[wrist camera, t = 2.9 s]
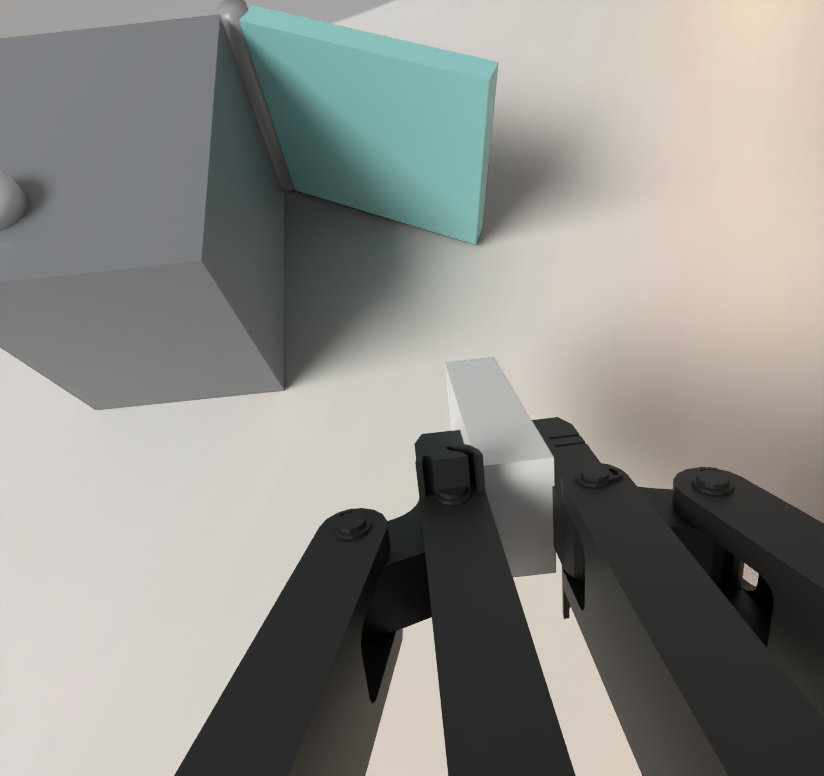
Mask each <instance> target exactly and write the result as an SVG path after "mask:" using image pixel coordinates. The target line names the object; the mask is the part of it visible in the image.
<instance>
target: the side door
mask: <svg viewBox="0 0 824 776" xmlns="http://www.w3.org/2000/svg"><path fill="white" fill-rule="evenodd" d="M217 11H218V14H220V16H221V19H222V22H223V24H224V27H225V30H226V33H227V36H228V38H229V41H230V44H231V47H232V50H233V52H234V55H235V58H236V61H237V64H238V66H239V69H240V72H241V75H242V78H243V80H244V83H245V86H246V89H247V92H248V94H249V97H250V100H251V103H252V106H253V108H254V111H255V114H256V117H257V120H258V122H259V125H260V128H261V131H262V134H263V136H264V139H265V142H266V145H267V148H268V150H269V153H270V156H271V159H272V162H273V164H274V167H275V170H276V173H277V176H278V178H279V181H280V184H281V187H282V189H284V190H288V191H290V190H294V189H295V190H296V191H299V192H302V193H306V194H309V195H312V196H316V197H319V198H322V199H326V200H329V201H332V202H336V203H339V204H342V205H346V206H349V207H352V208H356V209H359V210H362V211H366V212H369V213H372V214H376V215H379V216H382V217H385V218H389V219H392V220H395V221H399V222H402V223H405V224H409V225H412V226H415V227H419V228H422V229H425V230H429V231H432V232H435V233H439V234H442V235H445V236H449V237H452V238H455V239H459V240H462V241H465V242H468V243H472V244H475V245H476V242H477V240H478V238H479V236H480V234H481V231H482V226H483V216H484V205H485V195H486V185H487V175H488V164H489V154H490V144H491V133H492V123H493V113H494V102H495V92H496V82H497V71H498V62H495V61H490V60H486V59H482V58H477V57H473V56H469V55H464V54H460V53H456V52H451V51H447V50H443V49H438V48H434V47H430V46H425V45H421V44H417V43H412V42H408V41H404V40H399V39H395V38H391V37H386V36H382V35H378V34H373V33H369V32H365V31H360V30H356V29H352V28H347V27H343V26H339V25H334V24H330V23H326V22H321V21H317V20H312V19H308V18H304V17H300V16H295V15H291V14H287V13H282V12H278V11H273V10H269V9H265V8H261V7H256V6H252V5H251V7H250V8H249V9H248V8H247V5H246V2H245V1H244V0H224V1H223V2H221V3H220V4H219V5H218V7H217Z"/></svg>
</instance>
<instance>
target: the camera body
mask: <svg viewBox="0 0 824 776" xmlns="http://www.w3.org/2000/svg"><path fill="white" fill-rule="evenodd" d="M284 202H285V195H284V192H283V190H282V187H281V184H280V181H279V178H278V176H277V173H276V170H275V167H274V164H273V162H272V159H271V156H270V153H269V150H268V148H267V145H266V142H265V139H264V136H263V134H262V131H261V128H260V125H259V122H258V120H257V117H256V114H255V111H254V108H253V106H252V103H251V100H250V97H249V94H248V92H247V89H246V86H245V83H244V80H243V78H242V75H241V72H240V69H239V66H238V64H237V61H236V58H235V55H234V52H233V50H232V47H231V44H230V41H229V38H228V36H227V33H226V30H225V27H224V24H223V22H222V19H221V16H220V14H219V15H211V16H201V17H193V18H183V19H174V20H165V21H156V22H147V23H138V24H129V25H119V26H110V27H101V28H92V29H84V30H74V31H65V32H56V33H47V34H38V35H28V36H19V37H10V38H1V39H0V348H2V349H3V350H5V351H6V352H8V353H9V354H11V355H13V356H14V357H16V358H17V359H19V360H20V361H22V362H23V363H25V364H26V365H28V366H29V367H31V368H32V369H34V370H35V371H37V372H38V373H40V374H41V375H43V376H45V377H46V378H48V379H49V380H51V381H52V382H54V383H55V384H57V385H58V386H60V387H61V388H63V389H64V390H66V391H67V392H69V393H70V394H72V395H73V396H75V397H76V398H78V399H80V400H81V401H83V402H84V403H86V404H87V405H89V406H90V407H92V408H93V409H95V410H101V409H110V408H120V407H130V406H139V405H149V404H158V403H168V402H178V401H187V400H197V399H206V398H216V397H225V396H235V395H245V394H254V393H264V392H273V391H283V390H284Z"/></svg>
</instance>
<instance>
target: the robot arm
mask: <svg viewBox="0 0 824 776" xmlns="http://www.w3.org/2000/svg"><path fill="white" fill-rule="evenodd" d="M445 368H446V380H447V391H448V402H449V413H450V424H451V431H445V432H436V433H428V434H422V435H421V436H420V437H419V439H418V440H417V441H416V443H415V452H416V462H415V463H416V471H417V480H418V488H419V501H418V503H417V505H416V506H415V507H414V508H413V509H412V510H411V511H410V512H408V513H406V514H405V515H403V516H401V517H398V518H396V519H393V520H390V521H387V520H386V519H385V517H384V516H383V514H381V513H379V512H377V511H375V510H371V509H364V508H359V509H349V510H346V511H342V512H339V513H336V514H335V515H333V516H331V517H330V518H328V519H326V520H325V521H324V523H323V524H322V525H321V526H320V527H319V529H318V530H317V532H316V534H315V536H314V537H313V539H312V541H311V542H310V544H309V546H308V548H307V549H306V551H305V553H304V554H303V556H302V558H301V560H300V561H299V563H298V565H297V566H296V568H295V570H294V572H293V573H292V575H291V577H290V578H289V580H288V582H287V583H286V585H285V587H284V589H283V590H282V592H281V594H280V595H279V597H278V599H277V601H276V602H275V604H274V606H273V607H272V609H271V611H270V613H269V614H268V616H267V618H266V619H265V621H264V623H263V625H262V626H261V628H260V630H259V631H258V633H257V635H256V637H255V638H254V640H253V642H252V643H251V645H250V647H249V649H248V650H247V652H246V654H245V655H244V657H243V659H242V661H241V662H240V664H239V666H238V667H237V669H236V671H235V673H234V674H233V676H232V678H231V679H230V681H229V683H228V685H227V686H226V688H225V690H224V691H223V693H222V695H221V697H220V698H219V700H218V702H217V703H216V705H215V707H214V708H213V710H212V712H211V714H210V715H209V717H208V719H207V720H206V722H205V724H204V726H203V727H202V729H201V731H200V732H199V734H198V736H197V738H196V739H195V741H194V743H193V744H192V746H191V748H190V750H189V751H188V753H187V755H186V756H185V758H184V760H183V762H182V763H181V765H180V767H179V768H178V770H177V772H176V774H175V775H174V776H365V774H366V771H367V767H368V763H369V760H370V756H371V752H372V749H373V745H374V741H375V738H376V734H377V730H378V727H379V723H380V719H381V716H382V712H383V708H384V705H385V701H386V697H387V694H388V690H389V686H390V683H391V679H392V675H393V672H394V668H395V664H396V661H397V657H398V653H399V650H400V646H401V642H402V635H403V629H402V628H405V627H407V626H410V625H413V624H415V623H418V622H420V621H423V620H425V619H428V618H430V617H432V622H433V632H434V641H435V651H436V661H437V670H438V680H439V689H440V699H441V709H442V718H443V728H444V738H445V747H446V757H447V766H448V776H575V773H574V770H573V766H572V763H571V760H570V757H569V754H568V751H567V747H566V744H565V741H564V738H563V735H562V732H561V728H560V725H559V722H558V719H557V716H556V713H555V710H554V706H553V703H552V700H551V697H550V694H549V691H548V687H547V684H546V681H545V678H544V675H543V672H542V668H541V665H540V662H539V659H538V656H537V653H536V650H535V646H534V643H533V640H532V637H531V634H530V631H529V627H528V624H527V621H526V618H525V615H524V612H523V608H522V605H521V602H520V599H519V596H518V593H517V590H516V586H515V583H514V580H513V577H521V576H530V575H538V574H547V573H556V553H557V555H558V557H559V559H560V562H561V564H562V591H563V616H564V619H566V618H569V609H570V607H571V608H572V610H573V613H574V615H575V617H576V620H577V622H578V624H579V627H580V629H581V632H582V634H583V636H584V639H585V641H586V643H587V646H588V648H589V650H590V653H591V655H592V658H593V660H594V662H595V665H596V667H597V669H598V672H599V674H600V676H601V679H602V681H603V684H604V686H605V688H606V691H607V693H608V695H609V698H610V700H611V702H612V705H613V707H614V710H615V712H616V714H617V717H618V719H619V721H620V724H621V726H622V728H623V731H624V733H625V736H626V738H627V740H628V743H629V745H630V747H631V750H632V752H633V754H634V757H635V759H636V762H637V764H638V766H639V769H640V771H641V773H642V776H824V523H822V522H820V521H818V520H817V519H815V518H813V517H811V516H809V515H808V514H806V513H804V512H802V511H801V510H799V509H797V508H795V507H794V506H792V505H790V504H788V503H787V502H785V501H783V500H781V499H779V498H778V497H776V496H774V495H772V494H771V493H769V492H767V491H765V490H764V489H762V488H760V487H758V486H757V485H755V484H753V483H751V482H749V481H748V480H746V479H744V478H742V477H740V476H738V475H736V474H733V473H731V472H728V471H724V470H719V469H717V468H711V467H708V468H706V467H699V468H693V469H687V470H684V471H682V472H680V473H678V474H677V475H676V477H675V478H674V482H673V490H670V489H655V488H644V487H637V486H636V485H635V483H634V482H633V481H632V480H631V478H630V477H629V476H628V475H627V474H626V473H625V472H624V471H622V470H621V469H619V468H617V467H614V466H611V465H608V464H602V463H600V461H599V460H598V459H597V457H596V456H595V455H594V453H593V452H592V451H591V449H590V448H589V446H588V445H587V444H585V441H584V440H583V438H582V437H581V436H579V433H578V432H577V430H576V429H575V428H574V426H573V425H572V424H570V423H568V422H566V421H564V420H562V419H560V418H558V417H555V418H547V419H538V420H531V418H530V417H529V415H528V413H527V412H526V410H525V408H524V406H523V405H522V403H521V401H520V400H519V398H518V396H517V395H516V393H515V391H514V390H513V388H512V386H511V385H510V383H509V381H508V380H507V378H506V376H505V375H504V373H503V371H502V369H501V368H500V366H499V364H498V363H497V361H496V359H495V358H494V357H490V358H481V359H472V360H463V361H454V362H446V363H445ZM744 563H746V564H747V565H748V566H750V567H751V568H752V569H754V570H755V571H756V572H758V573H759V577H758V584H757V586H756V587H755V586H753V585H751V584H750V583H748V582H747V581H746V580H744V579H743V578H742V577H743V569H744Z"/></svg>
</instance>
